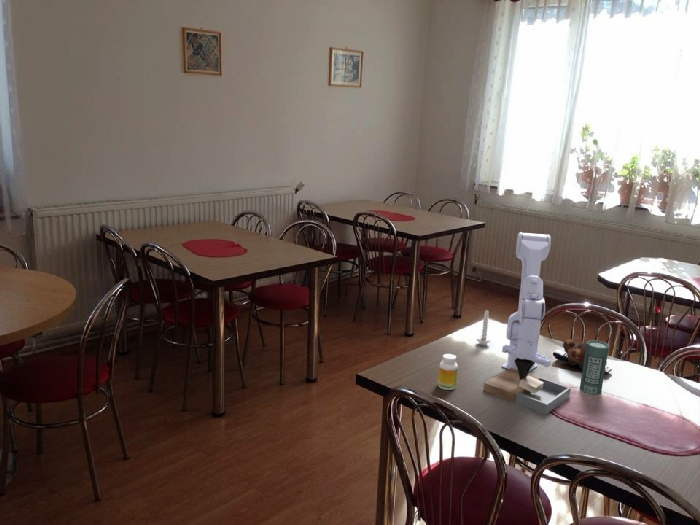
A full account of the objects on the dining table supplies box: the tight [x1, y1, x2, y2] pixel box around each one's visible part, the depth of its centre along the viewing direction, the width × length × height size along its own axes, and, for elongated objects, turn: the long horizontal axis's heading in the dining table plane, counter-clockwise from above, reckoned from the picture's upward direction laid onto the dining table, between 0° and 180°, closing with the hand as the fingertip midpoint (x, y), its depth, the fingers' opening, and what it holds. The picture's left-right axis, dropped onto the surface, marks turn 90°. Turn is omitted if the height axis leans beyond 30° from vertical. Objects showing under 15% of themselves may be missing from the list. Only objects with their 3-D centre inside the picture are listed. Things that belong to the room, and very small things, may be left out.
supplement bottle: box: [437, 353, 459, 391], centre depth 185 cm, size 5×5×10 cm
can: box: [579, 339, 610, 396], centre depth 186 cm, size 6×6×15 cm
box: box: [514, 376, 572, 415], centre depth 180 cm, size 15×10×3 cm, turn 137°
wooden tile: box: [519, 375, 544, 394], centre depth 182 cm, size 5×5×2 cm
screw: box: [476, 309, 492, 347], centre depth 217 cm, size 13×5×5 cm
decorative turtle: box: [562, 339, 608, 371], centre depth 204 cm, size 10×15×8 cm, turn 46°
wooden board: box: [483, 368, 540, 403], centre depth 187 cm, size 16×10×2 cm, turn 137°
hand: (522, 381), depth 184 cm, fingers closed, pressing on wooden tile
